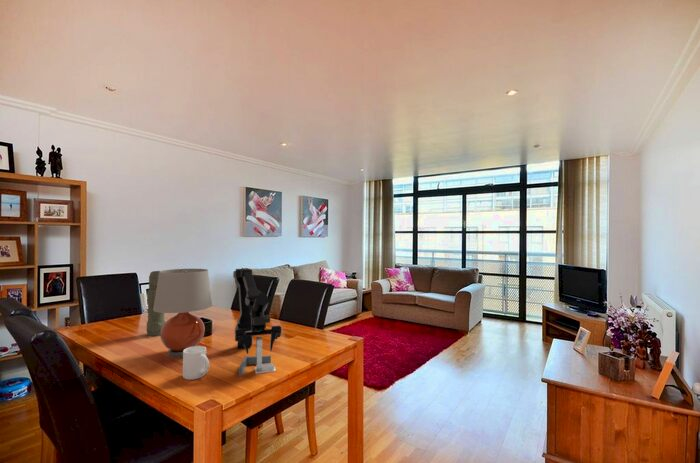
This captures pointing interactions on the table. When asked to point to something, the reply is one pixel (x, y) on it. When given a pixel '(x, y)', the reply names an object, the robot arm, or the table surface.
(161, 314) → the thermos
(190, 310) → the lamp
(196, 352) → the mug
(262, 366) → the bracket
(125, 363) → the table surface
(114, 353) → the table surface
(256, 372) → the plate
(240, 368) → the corner wall
